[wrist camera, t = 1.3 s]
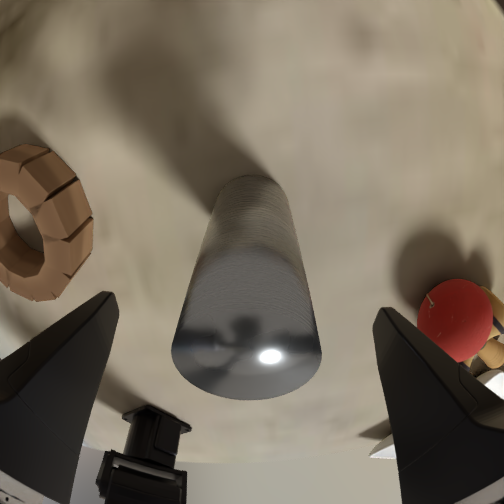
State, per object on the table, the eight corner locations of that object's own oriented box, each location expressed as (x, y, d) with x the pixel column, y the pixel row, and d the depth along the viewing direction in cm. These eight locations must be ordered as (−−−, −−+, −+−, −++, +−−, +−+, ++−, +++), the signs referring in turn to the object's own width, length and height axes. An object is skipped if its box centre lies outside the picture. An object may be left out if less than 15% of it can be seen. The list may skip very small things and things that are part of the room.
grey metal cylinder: (249, 254, 18) (242, 411, 9) (200, 207, 16) (143, 353, 7) (303, 213, 16) (348, 364, 8) (255, 159, 15) (252, 278, 6)
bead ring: (60, 296, 20) (43, 321, 17) (-18, 216, 16) (-41, 234, 13) (119, 216, 16) (98, 241, 14) (20, 115, 12) (-12, 125, 10)
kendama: (512, 309, 22) (469, 239, 15) (532, 357, 18) (511, 318, 11) (461, 345, 27) (386, 303, 20) (476, 392, 22) (407, 382, 15)
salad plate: (515, 382, 30) (522, 396, 28) (422, 446, 40) (426, 460, 37) (491, 350, 24) (503, 371, 21) (361, 437, 33) (365, 458, 30)
